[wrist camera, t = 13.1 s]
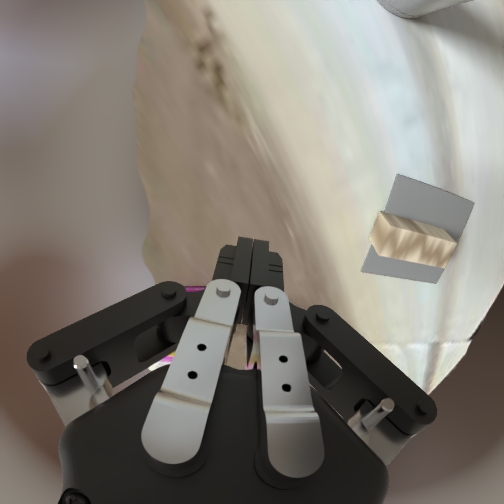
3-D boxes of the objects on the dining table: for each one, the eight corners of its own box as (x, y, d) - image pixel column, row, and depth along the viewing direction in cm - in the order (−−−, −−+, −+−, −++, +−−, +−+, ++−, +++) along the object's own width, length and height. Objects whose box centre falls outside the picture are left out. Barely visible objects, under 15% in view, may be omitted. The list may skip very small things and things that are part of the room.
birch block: (390, 225, 36) (457, 243, 37) (379, 211, 40) (443, 228, 41) (378, 255, 39) (444, 268, 39) (369, 238, 43) (432, 252, 43)
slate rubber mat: (396, 173, 37) (397, 174, 37) (473, 202, 38) (474, 203, 37) (360, 270, 47) (361, 271, 46) (435, 282, 47) (436, 283, 47)
